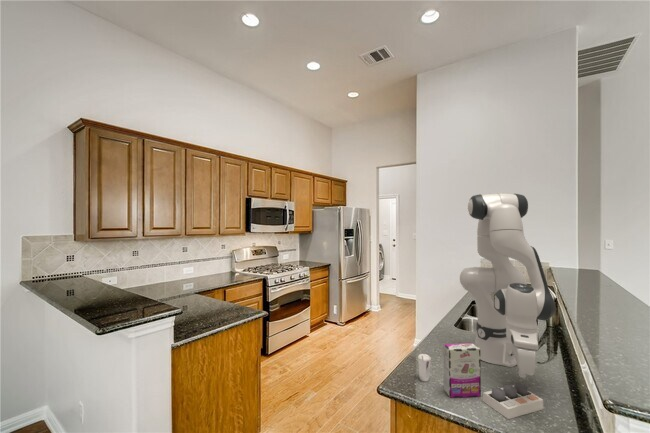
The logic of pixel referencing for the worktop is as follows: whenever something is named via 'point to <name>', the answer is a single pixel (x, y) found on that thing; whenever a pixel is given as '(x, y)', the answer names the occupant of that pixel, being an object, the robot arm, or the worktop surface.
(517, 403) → the button board
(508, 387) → the button middle
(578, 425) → the worktop surface
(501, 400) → the button
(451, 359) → the candy bar box
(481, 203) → the robot arm
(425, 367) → the milkshake
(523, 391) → the button
